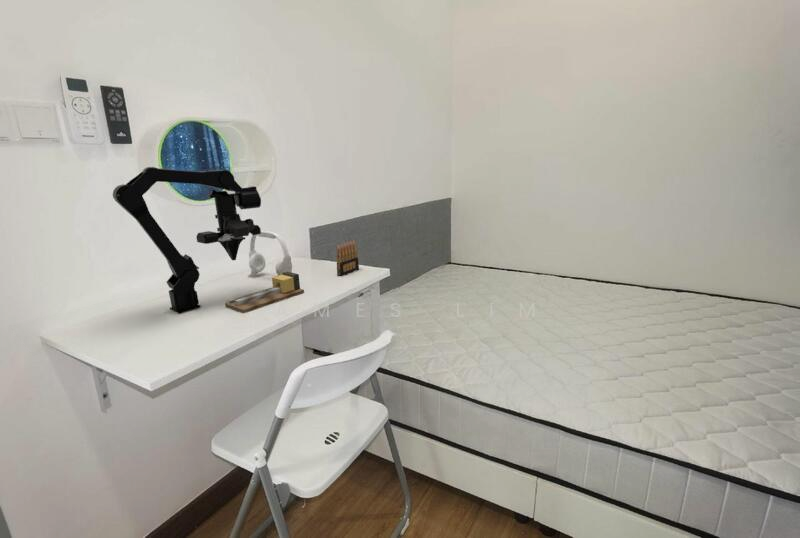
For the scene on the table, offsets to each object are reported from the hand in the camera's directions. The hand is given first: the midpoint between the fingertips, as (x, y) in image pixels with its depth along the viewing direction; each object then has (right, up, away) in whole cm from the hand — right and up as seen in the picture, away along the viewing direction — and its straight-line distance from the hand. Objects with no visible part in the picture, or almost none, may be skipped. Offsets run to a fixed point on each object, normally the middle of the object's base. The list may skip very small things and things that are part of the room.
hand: (233, 260), depth 132 cm
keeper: (+15, -10, +3) cm, 18 cm away
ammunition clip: (+33, -4, +25) cm, 42 cm away
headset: (+5, -7, +21) cm, 23 cm away
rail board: (+11, -12, -1) cm, 17 cm away
